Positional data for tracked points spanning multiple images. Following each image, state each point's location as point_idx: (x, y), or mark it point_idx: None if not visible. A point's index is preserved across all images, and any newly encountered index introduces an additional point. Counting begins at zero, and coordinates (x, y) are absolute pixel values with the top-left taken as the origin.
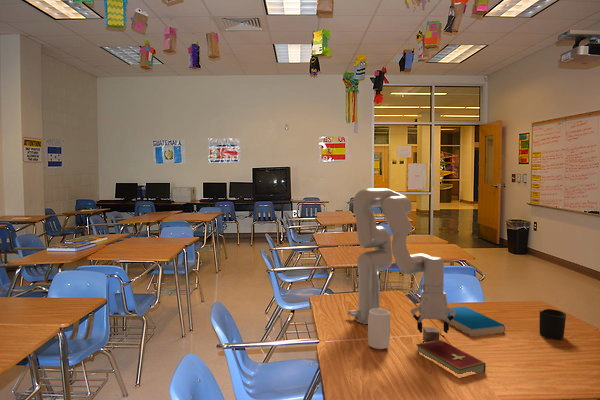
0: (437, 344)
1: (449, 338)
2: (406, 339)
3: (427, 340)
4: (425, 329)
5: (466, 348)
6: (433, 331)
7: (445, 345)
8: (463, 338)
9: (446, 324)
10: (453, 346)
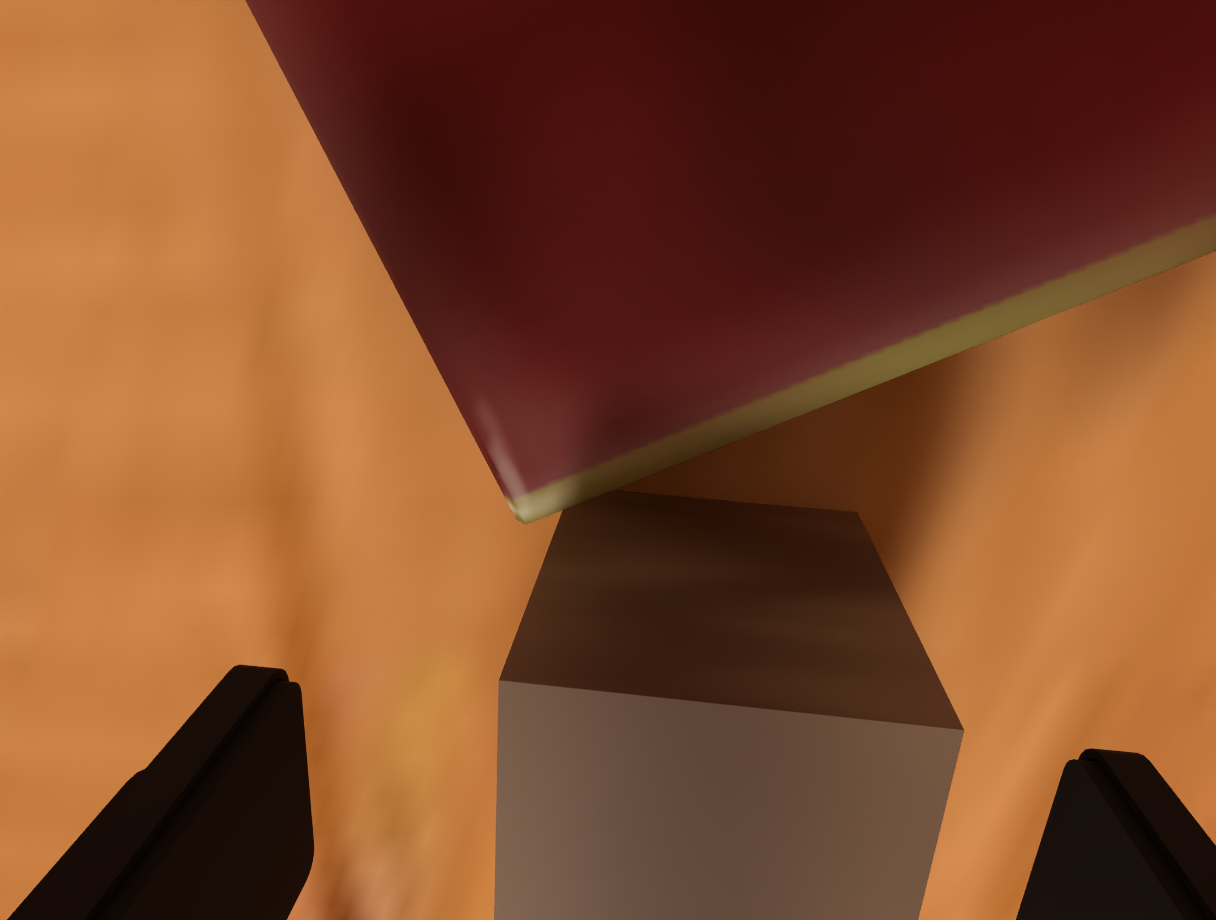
0: (736, 160)
1: None
2: None
3: (853, 576)
4: (897, 907)
5: (16, 438)
6: (681, 757)
7: (500, 86)
8: (8, 840)
9: (80, 912)
10: (265, 12)
